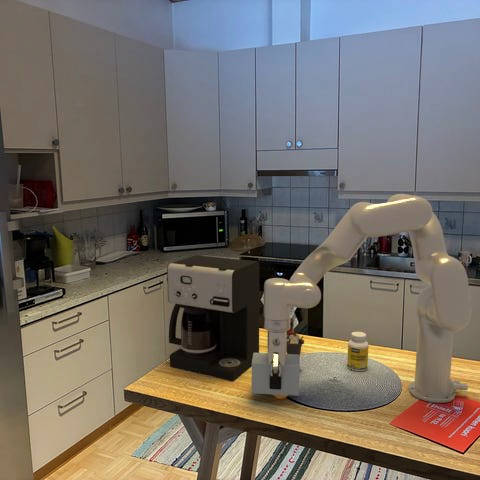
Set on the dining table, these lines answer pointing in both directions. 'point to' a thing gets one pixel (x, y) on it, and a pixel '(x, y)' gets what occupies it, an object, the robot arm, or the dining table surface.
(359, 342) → the pill bottle
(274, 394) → the ball
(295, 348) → the sundae
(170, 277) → the coffee maker
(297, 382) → the grey rectangular block
